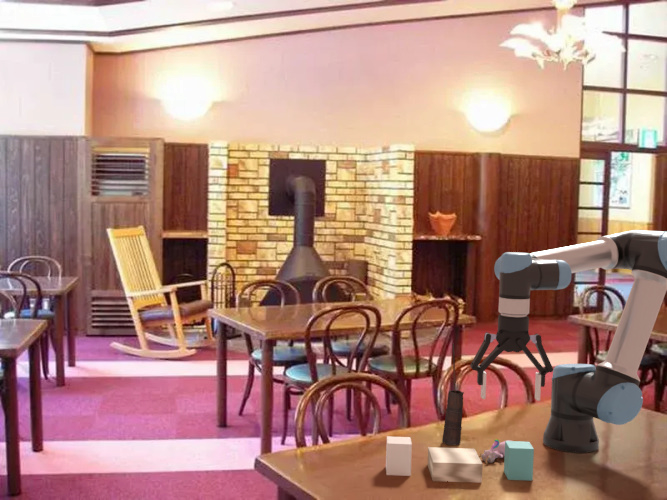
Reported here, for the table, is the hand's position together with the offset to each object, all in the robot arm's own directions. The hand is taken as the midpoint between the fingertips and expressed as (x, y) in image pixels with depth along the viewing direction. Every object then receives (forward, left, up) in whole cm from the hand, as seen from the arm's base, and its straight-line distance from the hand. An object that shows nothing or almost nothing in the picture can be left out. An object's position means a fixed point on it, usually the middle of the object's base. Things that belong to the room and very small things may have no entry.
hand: (510, 398), depth 209 cm
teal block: (-2, +1, -19) cm, 20 cm away
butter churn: (+11, -24, -19) cm, 32 cm away
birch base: (+14, +1, -20) cm, 24 cm away
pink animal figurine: (0, -12, -20) cm, 23 cm away
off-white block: (+28, +1, -19) cm, 34 cm away
